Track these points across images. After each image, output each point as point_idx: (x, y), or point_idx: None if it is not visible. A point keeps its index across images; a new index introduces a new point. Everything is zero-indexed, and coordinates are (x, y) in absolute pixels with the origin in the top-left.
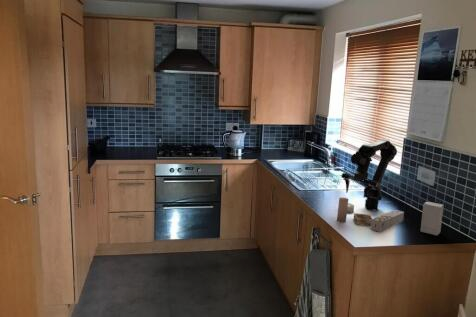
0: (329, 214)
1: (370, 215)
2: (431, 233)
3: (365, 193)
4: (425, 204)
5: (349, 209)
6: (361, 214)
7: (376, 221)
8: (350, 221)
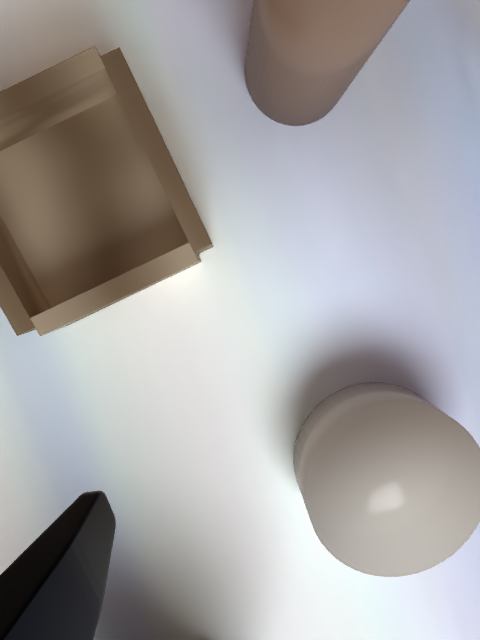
0: (474, 190)
1: (16, 321)
2: None
3: (6, 594)
4: None
5: (330, 419)
6: (122, 275)
7: None
8: (206, 130)
